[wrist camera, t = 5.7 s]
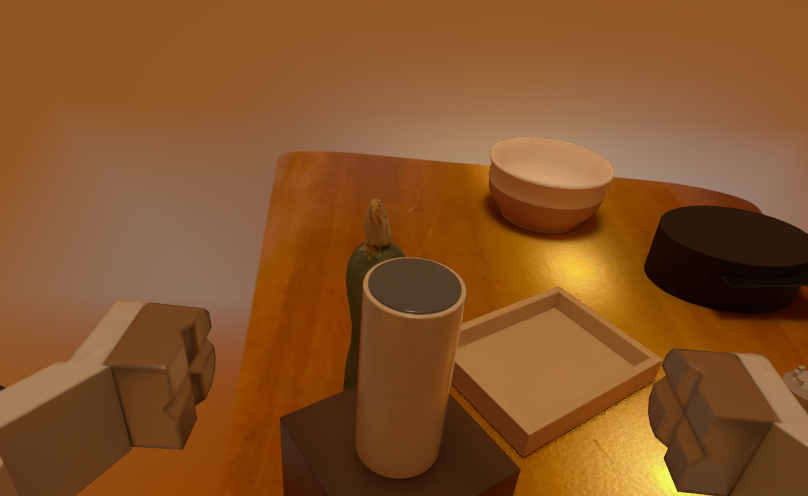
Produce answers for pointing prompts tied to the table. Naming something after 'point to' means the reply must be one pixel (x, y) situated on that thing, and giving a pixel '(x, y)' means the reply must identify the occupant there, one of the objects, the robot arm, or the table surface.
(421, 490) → the pedestal
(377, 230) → the vegetable
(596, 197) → the bowl
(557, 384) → the tray
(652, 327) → the table surface
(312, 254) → the table surface
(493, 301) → the table surface
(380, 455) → the cylinder
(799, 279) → the black flat-topped cap
